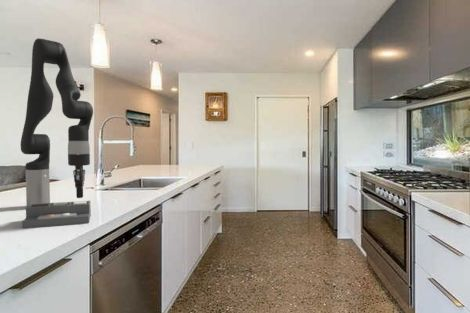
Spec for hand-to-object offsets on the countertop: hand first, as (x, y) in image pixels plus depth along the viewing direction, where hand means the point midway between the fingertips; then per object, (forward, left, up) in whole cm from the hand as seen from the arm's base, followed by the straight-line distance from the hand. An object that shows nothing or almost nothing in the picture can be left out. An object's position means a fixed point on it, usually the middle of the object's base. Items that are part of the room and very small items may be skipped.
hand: (79, 197), depth 124 cm
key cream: (0, 0, -4) cm, 4 cm away
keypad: (+2, -7, -8) cm, 11 cm away
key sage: (0, -7, -4) cm, 8 cm away
